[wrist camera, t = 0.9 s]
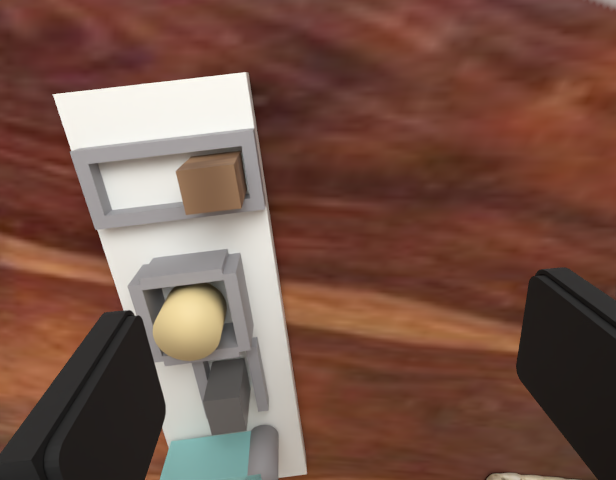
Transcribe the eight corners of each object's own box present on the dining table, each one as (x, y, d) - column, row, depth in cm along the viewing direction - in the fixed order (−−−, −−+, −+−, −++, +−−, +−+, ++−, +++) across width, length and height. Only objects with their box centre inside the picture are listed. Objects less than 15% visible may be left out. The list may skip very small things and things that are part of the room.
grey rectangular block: (244, 357, 30) (239, 397, 27) (250, 389, 32) (246, 430, 28) (212, 361, 30) (202, 401, 27) (220, 392, 32) (211, 435, 28)
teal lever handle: (276, 422, 33) (276, 466, 29) (280, 444, 34) (280, 489, 30) (169, 436, 33) (155, 482, 29) (176, 458, 34) (163, 505, 30)
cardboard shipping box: (240, 150, 25) (233, 164, 21) (247, 188, 26) (241, 208, 22) (191, 156, 25) (175, 171, 21) (199, 194, 25) (185, 215, 22)
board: (248, 72, 25) (238, 72, 19) (305, 454, 38) (310, 526, 32) (69, 92, 25) (3, 99, 19) (187, 470, 38) (169, 545, 32)
